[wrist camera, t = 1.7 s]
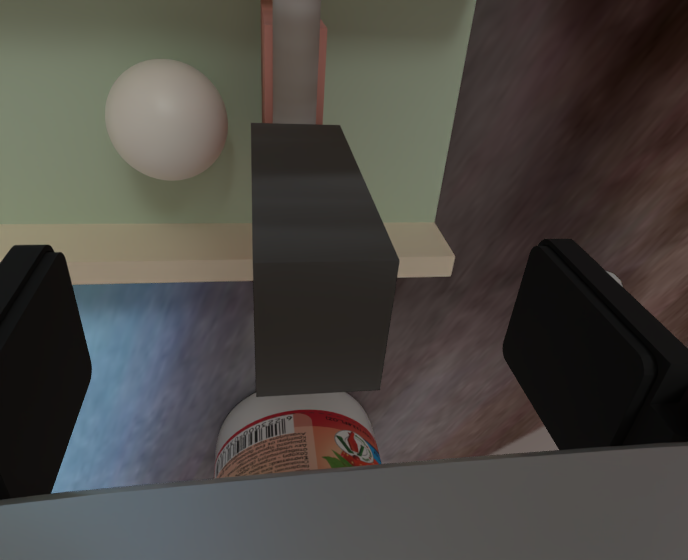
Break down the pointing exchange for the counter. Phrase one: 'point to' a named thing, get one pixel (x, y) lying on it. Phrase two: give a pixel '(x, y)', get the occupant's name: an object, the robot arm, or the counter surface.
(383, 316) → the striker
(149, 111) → the ball
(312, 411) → the fruit juice
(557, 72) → the counter surface
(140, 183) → the cream long tray
